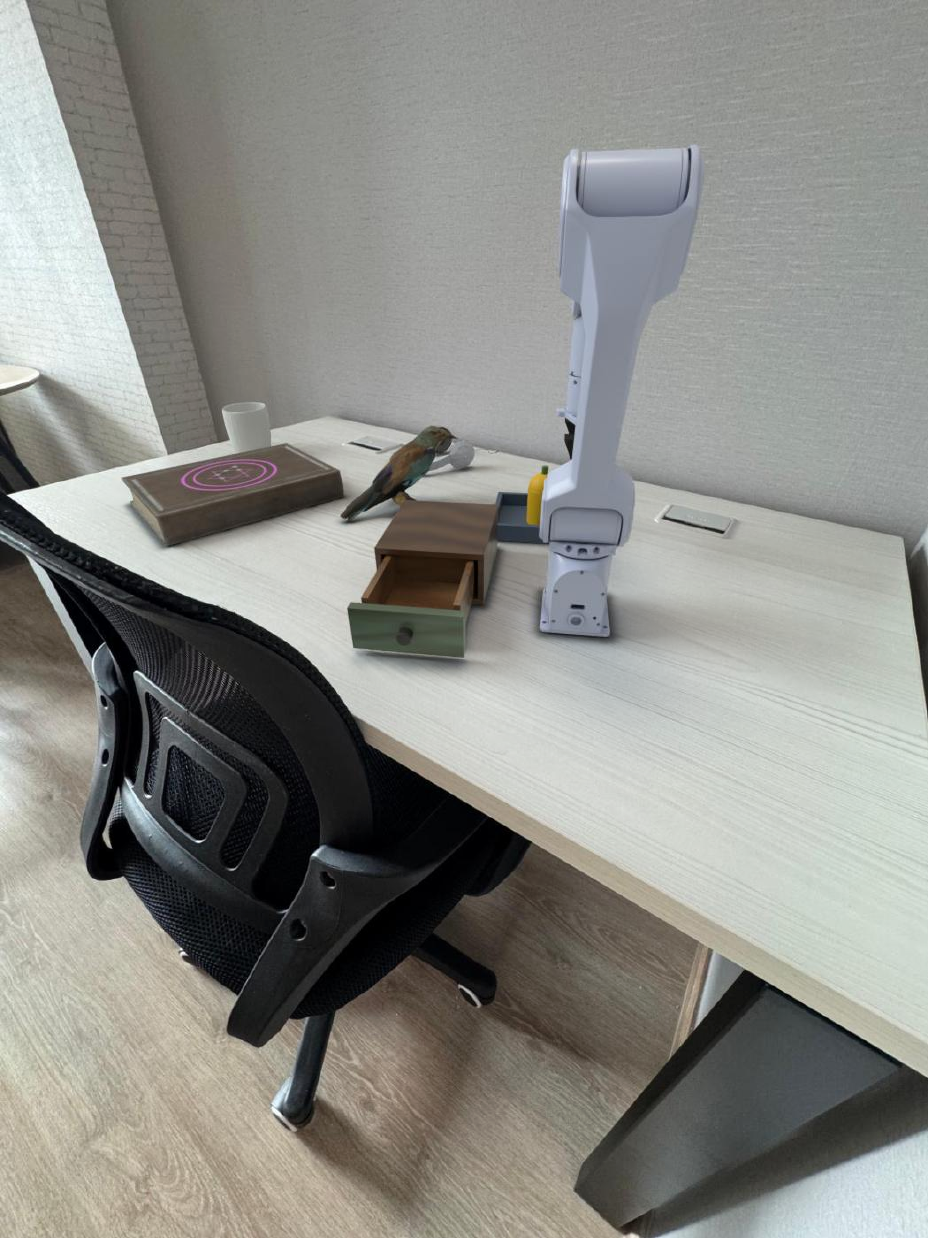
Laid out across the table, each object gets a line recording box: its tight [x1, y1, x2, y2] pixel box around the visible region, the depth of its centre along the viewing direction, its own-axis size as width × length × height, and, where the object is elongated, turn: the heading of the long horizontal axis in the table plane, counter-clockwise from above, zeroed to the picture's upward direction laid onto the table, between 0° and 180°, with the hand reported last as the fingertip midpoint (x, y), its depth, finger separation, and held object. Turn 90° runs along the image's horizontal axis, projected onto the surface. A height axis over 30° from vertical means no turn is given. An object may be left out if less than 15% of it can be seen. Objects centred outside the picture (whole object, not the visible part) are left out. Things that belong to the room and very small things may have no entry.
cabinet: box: [373, 499, 498, 606], centre depth 76 cm, size 16×14×7 cm
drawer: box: [346, 554, 476, 659], centre depth 65 cm, size 16×12×5 cm
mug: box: [221, 401, 272, 454], centre depth 121 cm, size 13×9×10 cm
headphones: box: [389, 426, 502, 472], centre depth 114 cm, size 17×6×20 cm
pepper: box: [526, 465, 549, 525], centre depth 88 cm, size 5×5×9 cm
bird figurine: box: [339, 425, 459, 523], centre depth 93 cm, size 13×10×20 cm
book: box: [121, 442, 345, 547], centre depth 99 cm, size 30×22×5 cm
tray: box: [494, 491, 550, 545], centre depth 90 cm, size 14×16×3 cm
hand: (580, 478), depth 78 cm, fingers open, 7 cm apart
